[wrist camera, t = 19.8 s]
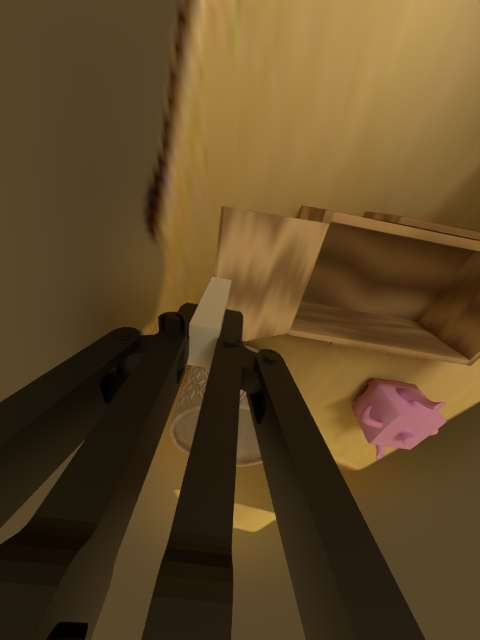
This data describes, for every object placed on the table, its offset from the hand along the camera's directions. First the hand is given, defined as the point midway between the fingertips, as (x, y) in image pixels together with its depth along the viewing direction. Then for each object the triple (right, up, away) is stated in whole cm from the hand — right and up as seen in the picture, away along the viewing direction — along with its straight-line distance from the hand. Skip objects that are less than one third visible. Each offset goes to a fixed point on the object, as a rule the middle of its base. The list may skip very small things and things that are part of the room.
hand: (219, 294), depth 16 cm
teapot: (+33, -18, +29) cm, 48 cm away
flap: (+9, +2, +5) cm, 10 cm away
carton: (+21, +5, +15) cm, 27 cm away
